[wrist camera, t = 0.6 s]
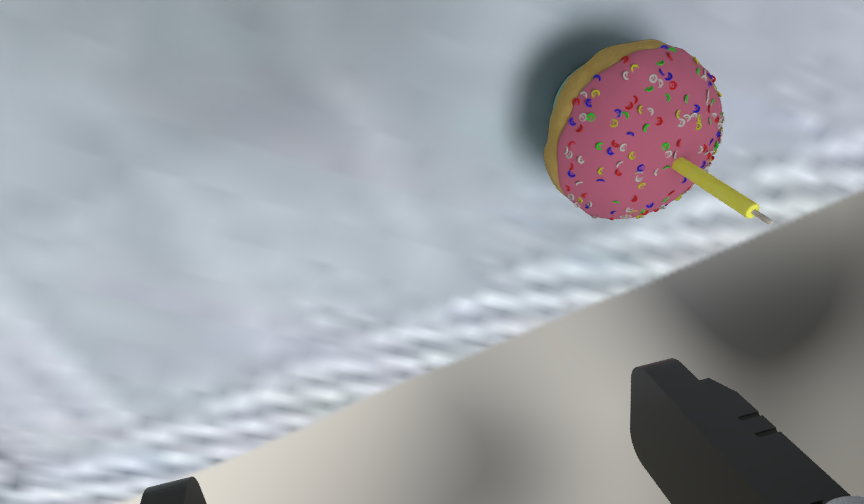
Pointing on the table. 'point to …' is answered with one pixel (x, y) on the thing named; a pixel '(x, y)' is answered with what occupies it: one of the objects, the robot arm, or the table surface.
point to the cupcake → (637, 132)
